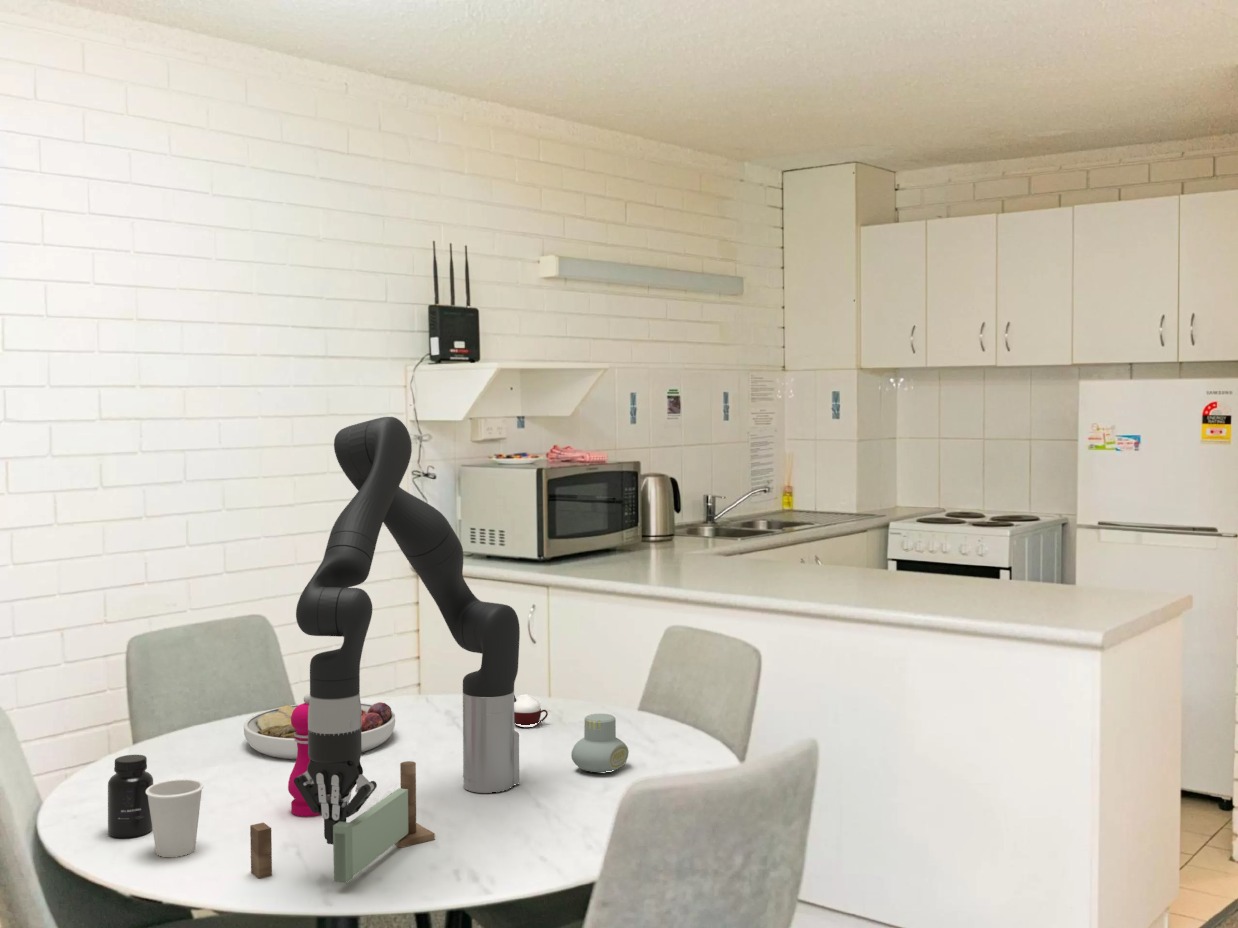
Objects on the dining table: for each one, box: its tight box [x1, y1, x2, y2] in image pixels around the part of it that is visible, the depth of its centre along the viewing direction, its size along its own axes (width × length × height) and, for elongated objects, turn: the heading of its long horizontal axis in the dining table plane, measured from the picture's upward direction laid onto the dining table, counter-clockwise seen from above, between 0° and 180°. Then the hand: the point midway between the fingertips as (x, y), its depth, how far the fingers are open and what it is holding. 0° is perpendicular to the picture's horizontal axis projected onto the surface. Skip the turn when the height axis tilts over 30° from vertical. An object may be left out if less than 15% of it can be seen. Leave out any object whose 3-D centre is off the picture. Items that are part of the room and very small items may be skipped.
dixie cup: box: [146, 778, 204, 858], centre depth 186 cm, size 8×8×10 cm
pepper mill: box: [287, 693, 322, 818], centre depth 204 cm, size 7×7×20 cm
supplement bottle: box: [107, 754, 154, 839], centre depth 195 cm, size 7×7×12 cm
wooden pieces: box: [249, 760, 436, 879], centre depth 185 cm, size 28×6×12 cm, turn 128°
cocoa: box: [514, 693, 549, 725], centre depth 260 cm, size 10×6×12 cm, turn 74°
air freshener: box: [571, 713, 630, 773], centre depth 228 cm, size 11×8×10 cm
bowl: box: [243, 701, 396, 760], centre depth 247 cm, size 30×30×8 cm
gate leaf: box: [332, 787, 408, 884], centre depth 180 cm, size 21×2×8 cm, turn 165°
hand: (335, 842), depth 175 cm, fingers closed
